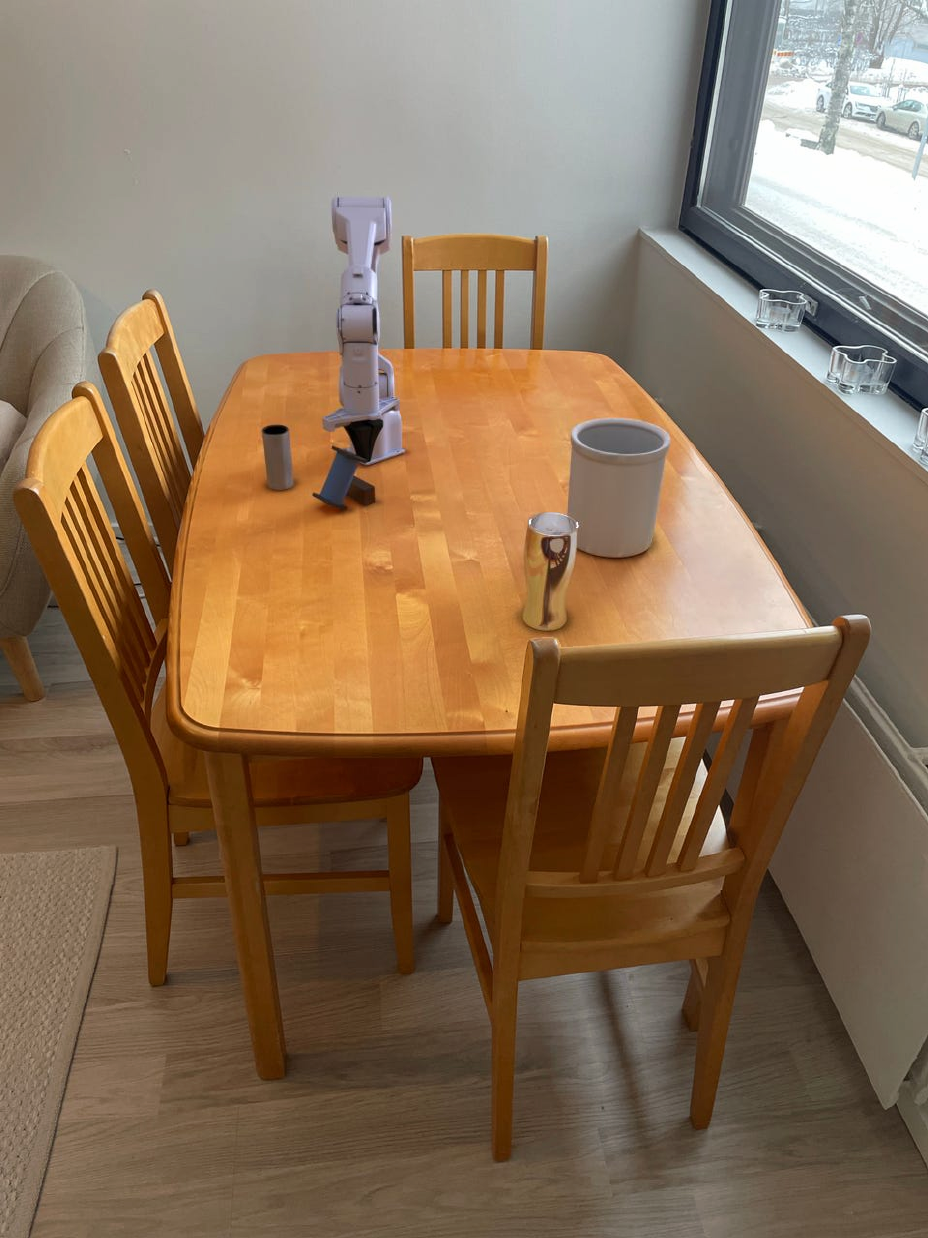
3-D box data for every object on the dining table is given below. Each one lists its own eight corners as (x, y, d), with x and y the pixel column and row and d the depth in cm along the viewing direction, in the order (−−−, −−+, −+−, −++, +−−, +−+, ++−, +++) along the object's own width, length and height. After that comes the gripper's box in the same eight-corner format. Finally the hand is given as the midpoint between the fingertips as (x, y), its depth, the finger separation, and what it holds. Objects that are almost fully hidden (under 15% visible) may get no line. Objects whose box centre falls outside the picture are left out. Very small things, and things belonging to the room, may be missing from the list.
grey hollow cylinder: (288, 491, 158) (283, 435, 152) (263, 489, 158) (257, 433, 152) (297, 480, 161) (292, 425, 155) (273, 477, 162) (267, 422, 156)
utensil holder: (545, 524, 150) (553, 423, 140) (623, 509, 155) (636, 410, 145) (590, 567, 139) (602, 461, 129) (672, 549, 144) (690, 446, 134)
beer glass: (516, 605, 130) (522, 511, 121) (564, 604, 130) (574, 510, 122) (523, 633, 124) (530, 537, 116) (573, 632, 125) (584, 535, 116)
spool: (360, 478, 158) (345, 436, 151) (376, 487, 155) (361, 444, 148) (318, 510, 154) (300, 468, 147) (334, 519, 151) (316, 477, 145)
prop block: (353, 490, 159) (353, 474, 157) (375, 502, 155) (374, 486, 153) (343, 494, 157) (342, 478, 156) (365, 506, 154) (364, 490, 152)
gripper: (339, 399, 139) (344, 480, 147) (411, 378, 148) (412, 456, 155) (312, 387, 143) (318, 466, 151) (383, 367, 152) (385, 443, 159)
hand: (364, 460), depth 153 cm, fingers closed
